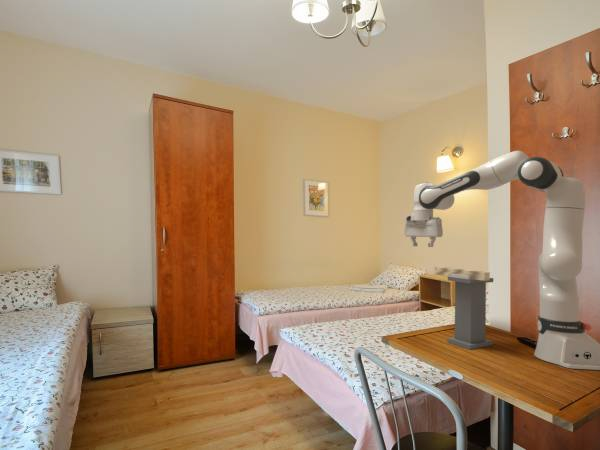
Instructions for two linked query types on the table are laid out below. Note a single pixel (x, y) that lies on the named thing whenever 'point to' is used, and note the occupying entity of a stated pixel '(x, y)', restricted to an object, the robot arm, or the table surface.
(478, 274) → the lath
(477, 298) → the stand
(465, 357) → the table surface
